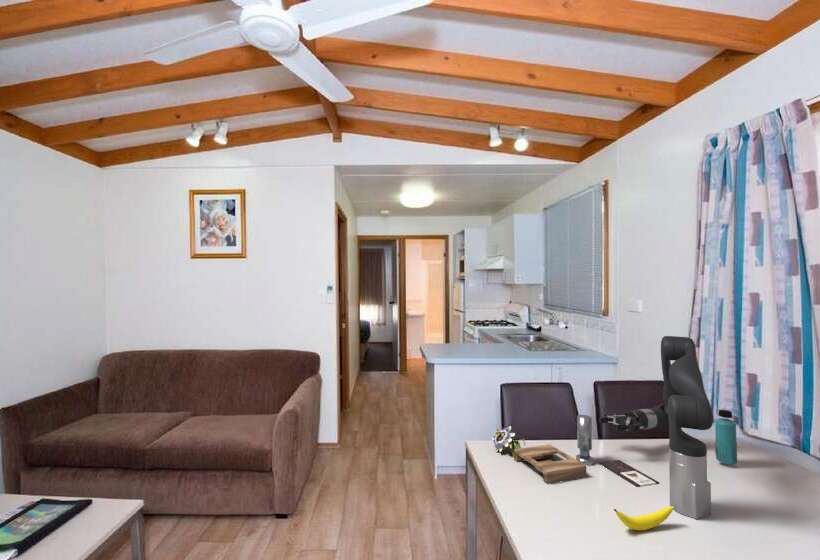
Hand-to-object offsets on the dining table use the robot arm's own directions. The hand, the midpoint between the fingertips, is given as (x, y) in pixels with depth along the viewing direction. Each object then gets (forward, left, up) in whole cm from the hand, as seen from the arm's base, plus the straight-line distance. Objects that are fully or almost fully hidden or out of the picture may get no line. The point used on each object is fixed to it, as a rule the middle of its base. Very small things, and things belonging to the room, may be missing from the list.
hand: (608, 424), depth 157 cm
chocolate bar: (-12, +3, -14) cm, 19 cm away
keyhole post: (0, +11, -13) cm, 17 cm away
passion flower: (+18, +33, -13) cm, 40 cm away
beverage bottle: (-18, -37, -13) cm, 43 cm away
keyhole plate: (0, +27, -13) cm, 30 cm away
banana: (-40, +26, -13) cm, 49 cm away
